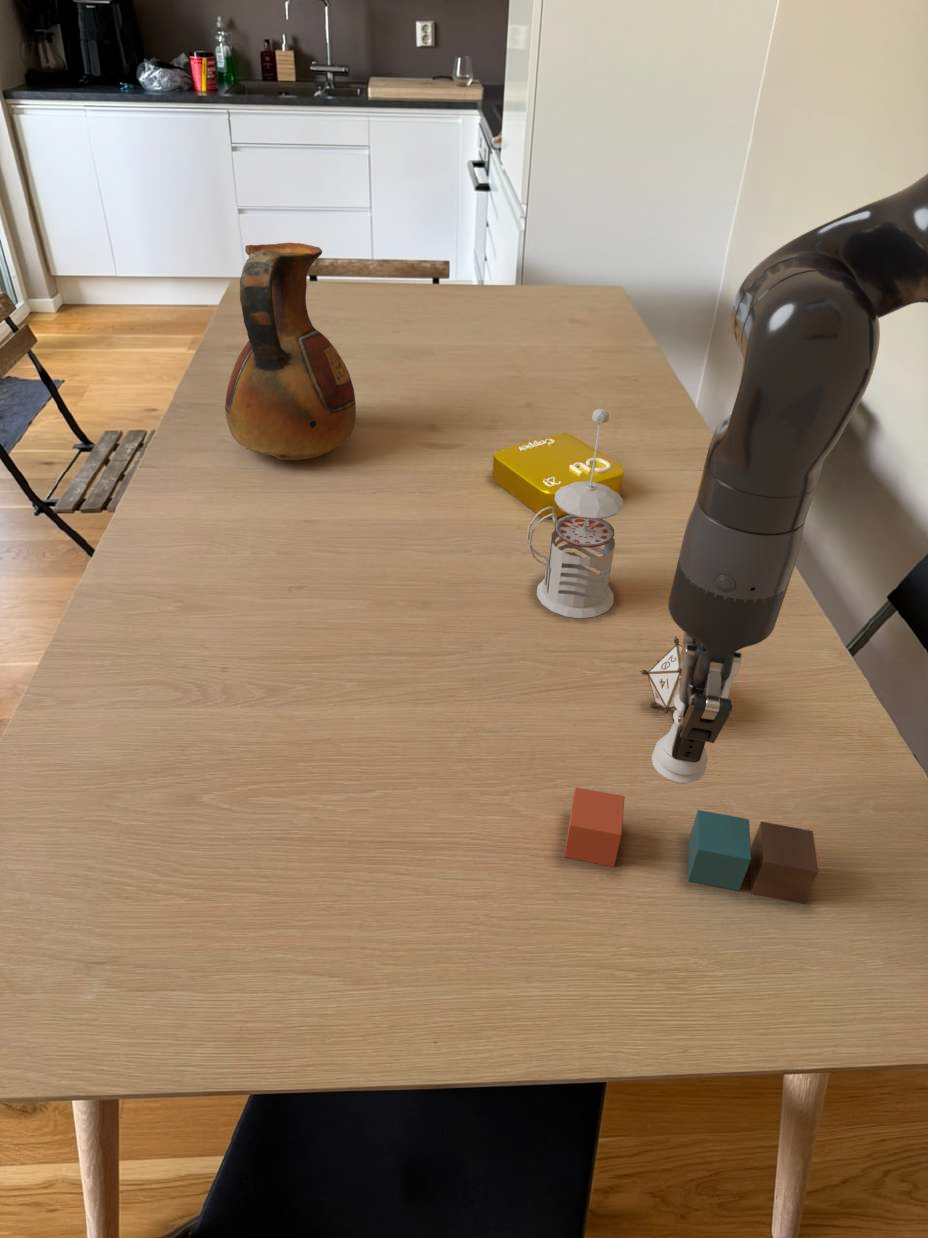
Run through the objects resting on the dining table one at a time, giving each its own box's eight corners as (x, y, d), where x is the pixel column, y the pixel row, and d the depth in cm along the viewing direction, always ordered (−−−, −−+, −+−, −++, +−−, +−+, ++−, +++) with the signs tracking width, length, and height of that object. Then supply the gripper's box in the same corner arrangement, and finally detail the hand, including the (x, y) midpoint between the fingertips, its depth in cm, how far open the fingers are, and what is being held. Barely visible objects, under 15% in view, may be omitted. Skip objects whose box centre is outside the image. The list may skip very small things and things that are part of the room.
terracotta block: (617, 828, 83) (624, 796, 80) (614, 867, 80) (621, 835, 77) (569, 819, 84) (575, 786, 81) (564, 857, 80) (569, 825, 77)
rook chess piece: (692, 744, 76) (713, 674, 71) (713, 784, 72) (736, 713, 67) (642, 749, 75) (660, 678, 70) (661, 789, 71) (680, 718, 66)
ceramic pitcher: (371, 424, 148) (366, 234, 130) (336, 482, 132) (325, 275, 114) (258, 411, 150) (238, 222, 132) (211, 466, 134) (180, 261, 116)
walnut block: (799, 862, 81) (813, 830, 78) (803, 904, 77) (818, 872, 75) (748, 852, 81) (760, 821, 79) (750, 893, 78) (763, 862, 75)
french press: (621, 617, 109) (656, 429, 93) (527, 618, 108) (547, 429, 92) (606, 571, 116) (636, 391, 101) (518, 572, 116) (534, 390, 100)
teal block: (737, 850, 82) (749, 818, 79) (739, 891, 78) (751, 859, 75) (688, 841, 82) (697, 809, 79) (687, 881, 79) (697, 849, 76)
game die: (671, 746, 97) (659, 725, 88) (635, 680, 101) (620, 653, 92) (746, 709, 96) (742, 684, 87) (707, 643, 99) (699, 613, 91)
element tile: (563, 454, 142) (567, 426, 139) (626, 496, 132) (631, 467, 129) (486, 477, 135) (488, 448, 132) (546, 522, 126) (549, 492, 123)
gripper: (800, 635, 55) (735, 816, 66) (783, 519, 66) (729, 690, 77) (677, 615, 56) (633, 797, 67) (680, 504, 67) (642, 676, 78)
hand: (685, 739), depth 72 cm, fingers closed on rook chess piece, 3 cm apart
